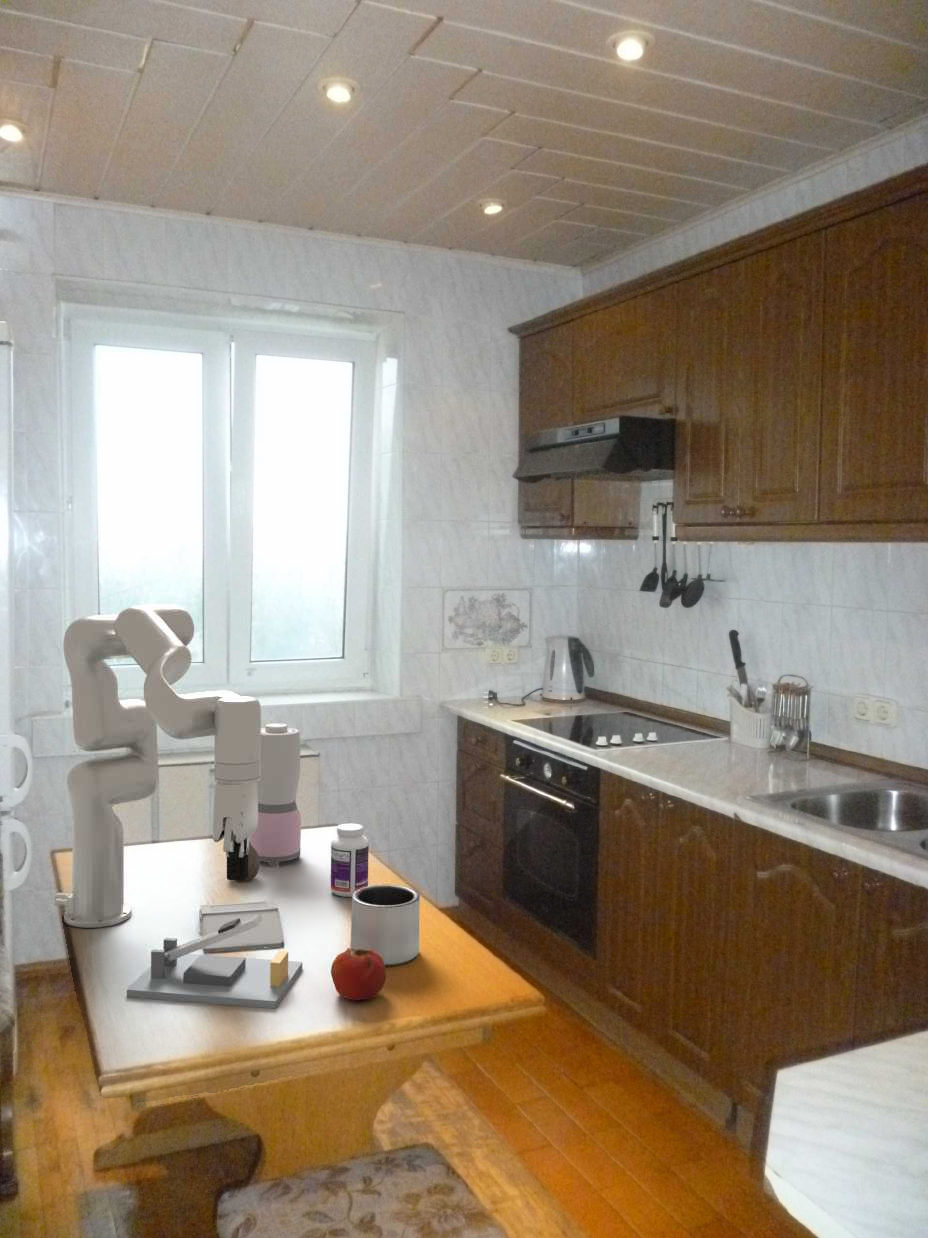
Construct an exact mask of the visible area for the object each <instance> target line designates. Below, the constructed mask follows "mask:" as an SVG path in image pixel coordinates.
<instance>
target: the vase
mask: <svg viewBox="0 0 928 1238" xmlns="http://www.w3.org/2000/svg"><path fill="white" fill-rule="evenodd" d="M245 855H248V877H247V878H246V879H245V880H244V881H236V880H234V882H236V883H250V882H252V881H253V880H254V879H256V878H257V876H258V874H259V871H260V866H261V861H260V859H259V855H258V853H257V851H256V850H255V849H254V847H253V846H252V845H251V843H250V841H249V852H248V854H245Z"/></svg>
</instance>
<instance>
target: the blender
mask: <svg viewBox="0 0 928 1238" xmlns="http://www.w3.org/2000/svg"><path fill="white" fill-rule="evenodd" d="M300 773H301V736H300V731H299V730H298V729H296V728H294V727H293V728H292V727H289V726H288V725H287V724H286V723H267V724H266V725H265V726H264V727H261V779H260V780H259V781H257V794H258V824H257V828H256V830H255V831H254V832H253V833H252V834H251V836H250V837H249V841H250V843H251V845H252V846H253V847H254V849H255V850H256V851H257V853H258V855H259V859H260V862H264V863H265V862H266V863H268V867H269V868H277V867H278V868H279V866H280V865H279V864H280V862H286V861H287V862H288V861H292V860H295V859H300V858H301V849H302V848H301V835H302V819H301V817H302V816H301V813H300V811H299V808H298V805H297V803H296V801H297V800H296V799H297V794H298V793H297V792H298V787H299V783H300V782H299V780H300Z"/></svg>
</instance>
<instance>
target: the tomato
mask: <svg viewBox="0 0 928 1238" xmlns="http://www.w3.org/2000/svg"><path fill="white" fill-rule="evenodd" d="M331 964H332V965H331V968H330V976H331V978H332V982H333V985H334V987H335V988H334V989H335V990H336V992H337V993H338V995H340V996H341V997H344V998H347V999H348V1000H350V1001H351V1000H352V1001H360V1000H370V999H372V998H374V997H375V996H377V995H378V994H379V992H380V991H381V990H382V989H383V988H384V985H385V983H386V979H387V971H386V966H385V965H384V961H383V959H382V957H381V956H379V955H378V954H376V953H375V952H373V951H371V950H368V949H352V948H350V947H348V948H347V949H346V950H345V951H344V952H341V953H339V954H337V955H336V957H335V959H334V960H333V962H332V963H331Z"/></svg>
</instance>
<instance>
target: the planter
mask: <svg viewBox="0 0 928 1238" xmlns="http://www.w3.org/2000/svg"><path fill="white" fill-rule="evenodd" d="M420 898H421V896H420V893H419V892H418V891H417V890H416V889H414V888H411V887H408V886H403V885H398V884H373V885H368V886H367V887H363V888H361V889H358V890H356V891H355V892H354V893H353V895H352V897H351V920H350V923H351V924H350V944H349V945H350V947H349V948H352V949H368V950H371V951H373V952H375V953H376V954H378V955H379V956H381V957H382V959H383V961H384V965H385V967H391V966H399V965H402V964H405V963H408V962H409V961H411V960H413V959H414V958H415V957H417V956H418V955H419V950H420V905H421V904H420V902H421V901H420V900H421V899H420Z"/></svg>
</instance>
